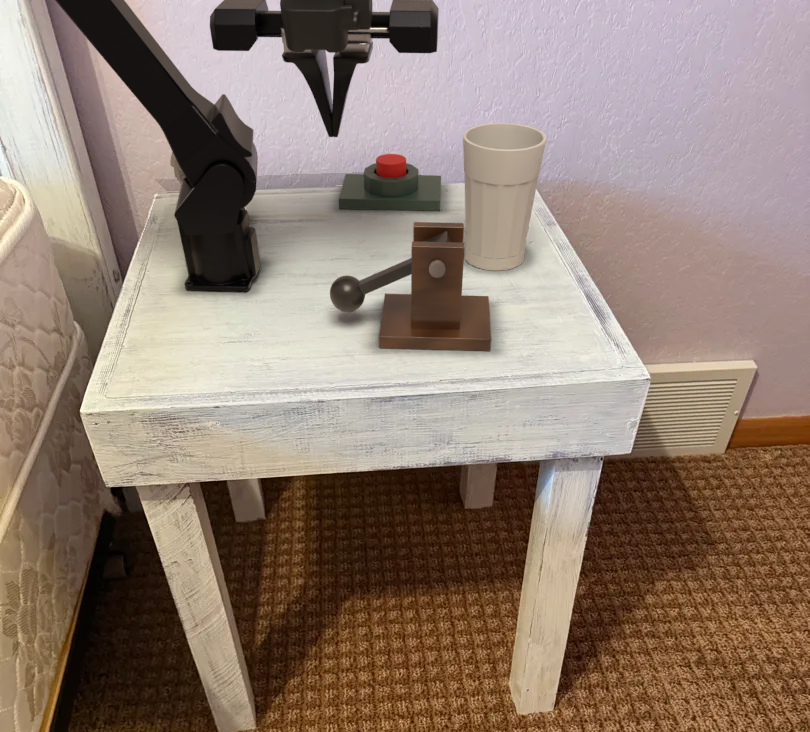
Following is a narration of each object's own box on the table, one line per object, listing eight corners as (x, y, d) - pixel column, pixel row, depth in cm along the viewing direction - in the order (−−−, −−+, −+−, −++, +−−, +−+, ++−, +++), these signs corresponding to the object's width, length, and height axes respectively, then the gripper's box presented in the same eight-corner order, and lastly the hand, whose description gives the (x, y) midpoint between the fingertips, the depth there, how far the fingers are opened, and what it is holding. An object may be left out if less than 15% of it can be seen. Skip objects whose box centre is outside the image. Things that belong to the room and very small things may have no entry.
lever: (338, 323, 70) (321, 294, 68) (342, 306, 72) (325, 277, 70) (459, 272, 66) (444, 239, 64) (459, 256, 68) (445, 223, 66)
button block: (339, 208, 91) (337, 182, 89) (346, 183, 96) (344, 158, 94) (439, 210, 90) (440, 184, 88) (440, 185, 96) (441, 160, 94)
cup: (528, 277, 78) (543, 153, 70) (451, 270, 79) (457, 147, 71) (534, 244, 84) (549, 125, 75) (462, 238, 85) (469, 120, 76)
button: (375, 179, 90) (374, 164, 89) (377, 168, 93) (377, 153, 91) (405, 180, 90) (405, 164, 89) (406, 169, 93) (406, 153, 91)
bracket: (379, 348, 69) (376, 253, 62) (385, 304, 74) (383, 213, 68) (490, 351, 68) (498, 256, 62) (487, 307, 74) (495, 216, 68)
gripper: (174, -68, 54) (213, 165, 65) (438, -66, 53) (432, 169, 64) (210, -88, 62) (240, 123, 73) (441, -86, 61) (435, 126, 72)
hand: (333, 135), depth 70 cm, fingers closed
